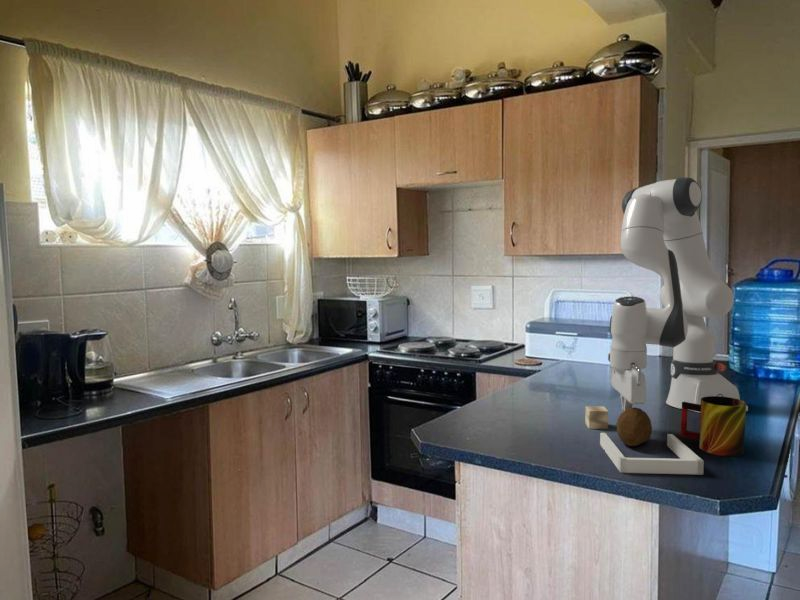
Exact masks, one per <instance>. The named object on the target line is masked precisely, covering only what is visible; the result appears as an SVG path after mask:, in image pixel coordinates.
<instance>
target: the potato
mask: <svg viewBox="0 0 800 600" xmlns="http://www.w3.org/2000/svg"><path fill="white" fill-rule="evenodd" d="M616 430H617V431H616V432H617V436H618V438H619V440H620V441H621V442H622V443H623V444H625V445H626V446H629V447H637V446H639V445H641V444H643V443H646V442H648V441H649V439H650V438H651V436H652V432H653V426H652V421H651V418H650V417H649V415H648V414H647V412H645V411H644V410H643V409H641V408H639V407H634V406H632V408H629V409H626V410H625V411H622V412H621V414H620V415H619V416H618V418H617V420H616Z"/></svg>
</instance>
